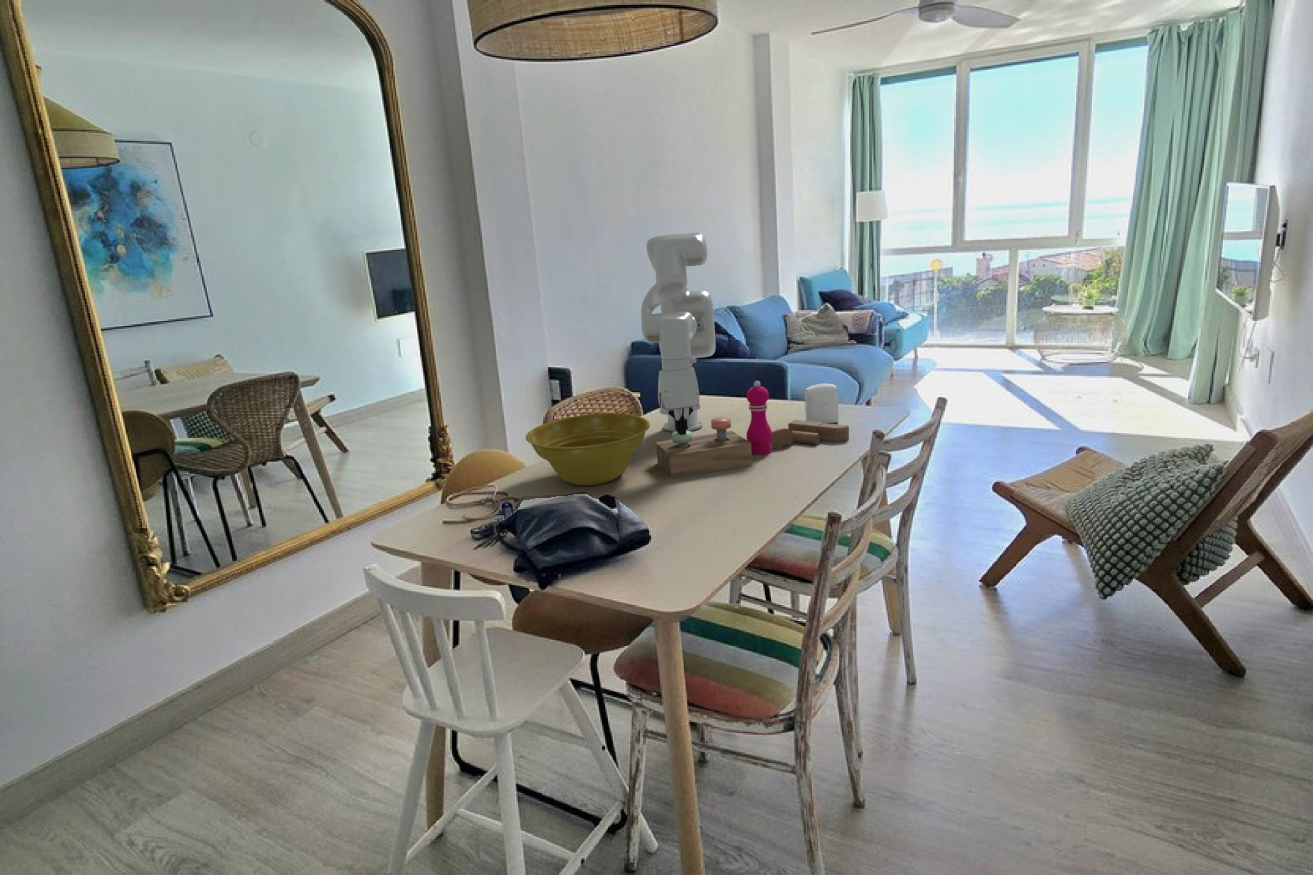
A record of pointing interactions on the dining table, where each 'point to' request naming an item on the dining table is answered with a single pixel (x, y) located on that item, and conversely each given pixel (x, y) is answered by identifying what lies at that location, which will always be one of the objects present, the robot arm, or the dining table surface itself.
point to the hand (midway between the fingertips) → (681, 433)
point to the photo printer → (821, 403)
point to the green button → (682, 439)
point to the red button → (721, 427)
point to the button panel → (704, 455)
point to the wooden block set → (809, 433)
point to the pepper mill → (759, 421)
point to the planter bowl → (589, 445)
